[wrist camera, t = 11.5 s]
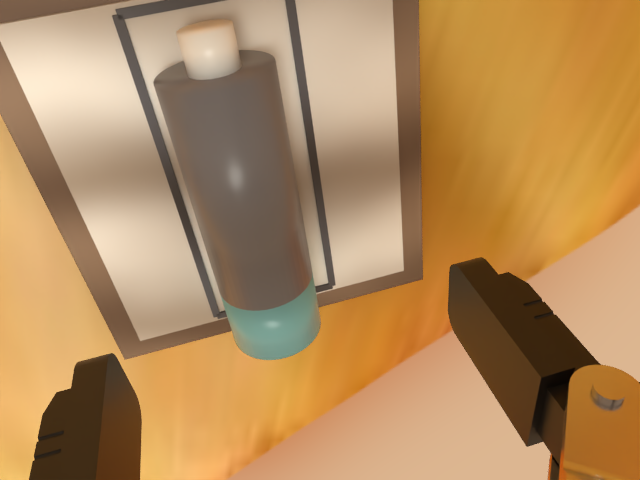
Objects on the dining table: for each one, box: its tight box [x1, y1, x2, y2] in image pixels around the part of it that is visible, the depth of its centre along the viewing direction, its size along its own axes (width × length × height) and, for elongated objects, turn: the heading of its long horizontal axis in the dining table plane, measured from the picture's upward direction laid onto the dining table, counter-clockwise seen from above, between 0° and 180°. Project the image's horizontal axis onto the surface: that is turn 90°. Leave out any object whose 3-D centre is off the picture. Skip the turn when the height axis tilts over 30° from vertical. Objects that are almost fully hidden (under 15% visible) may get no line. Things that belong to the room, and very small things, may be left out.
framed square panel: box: [0, 0, 423, 359], centre depth 20 cm, size 15×14×1 cm
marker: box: [153, 19, 321, 360], centre depth 18 cm, size 12×4×4 cm, turn 8°
